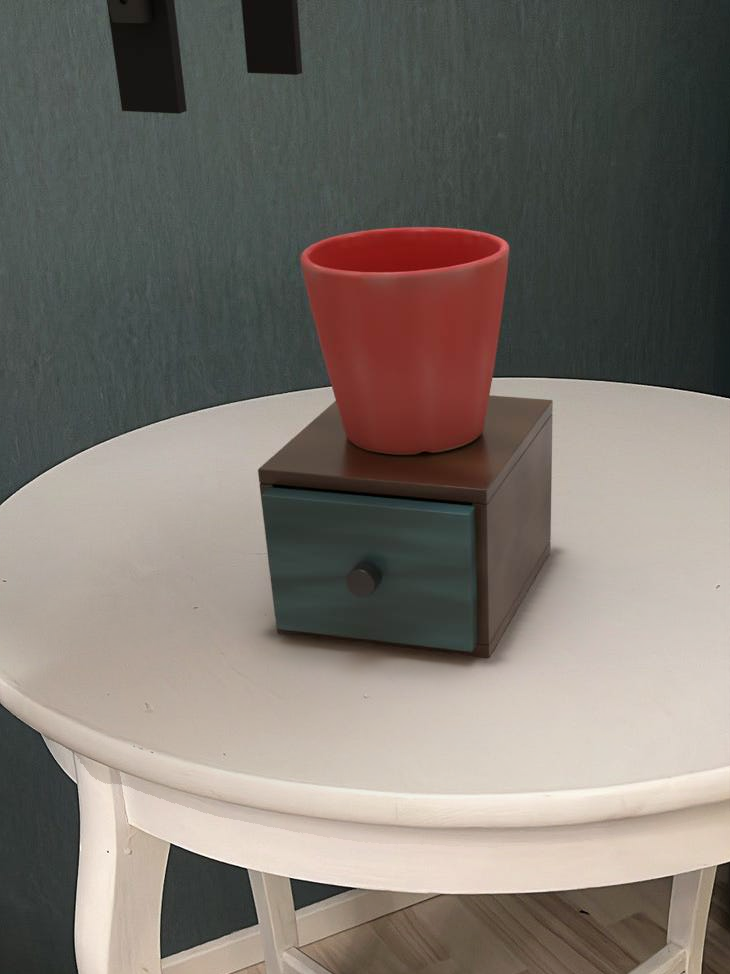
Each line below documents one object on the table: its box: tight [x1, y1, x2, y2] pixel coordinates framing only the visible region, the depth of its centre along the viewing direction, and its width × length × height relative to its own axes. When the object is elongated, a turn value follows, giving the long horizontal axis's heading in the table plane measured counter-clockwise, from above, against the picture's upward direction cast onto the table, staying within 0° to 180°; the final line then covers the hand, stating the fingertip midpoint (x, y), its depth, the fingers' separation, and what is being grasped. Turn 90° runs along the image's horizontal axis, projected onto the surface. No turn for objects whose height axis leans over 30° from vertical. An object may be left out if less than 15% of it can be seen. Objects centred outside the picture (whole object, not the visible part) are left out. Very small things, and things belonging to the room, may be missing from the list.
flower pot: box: [300, 226, 510, 455], centre depth 73 cm, size 11×11×10 cm
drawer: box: [260, 486, 478, 652], centre depth 76 cm, size 15×11×8 cm
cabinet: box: [257, 394, 554, 658], centre depth 78 cm, size 15×13×10 cm
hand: (219, 91), depth 64 cm, fingers open, 13 cm apart
